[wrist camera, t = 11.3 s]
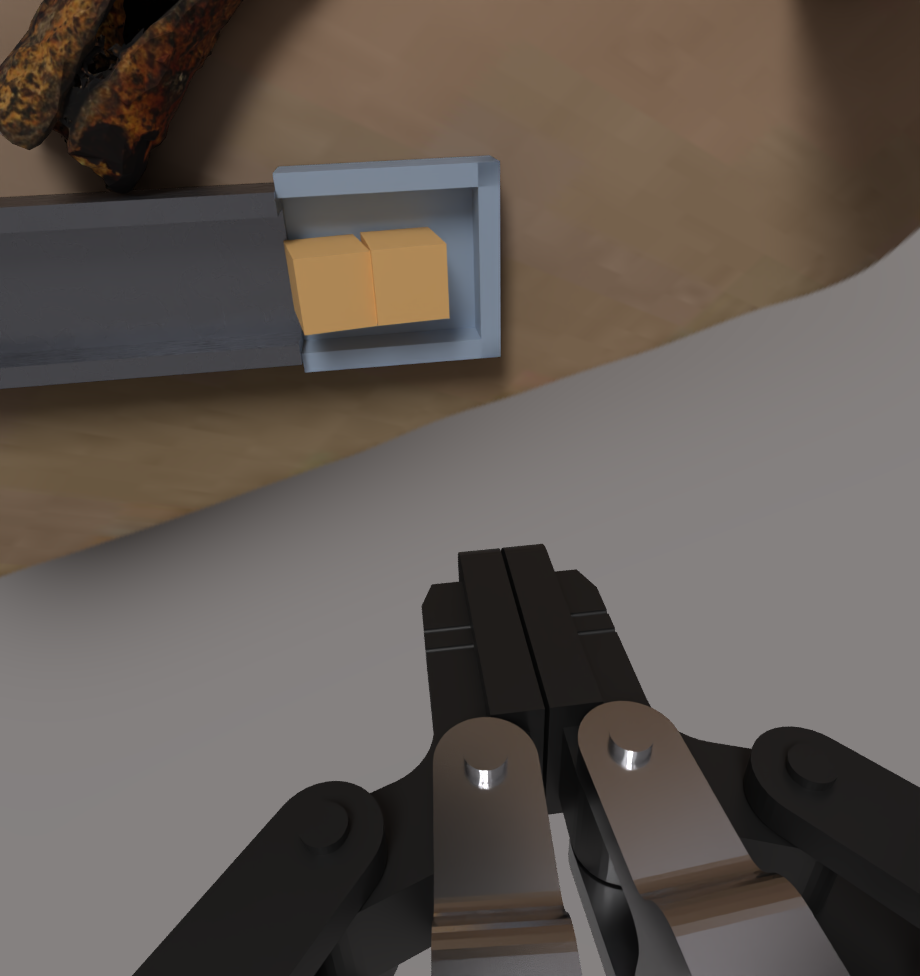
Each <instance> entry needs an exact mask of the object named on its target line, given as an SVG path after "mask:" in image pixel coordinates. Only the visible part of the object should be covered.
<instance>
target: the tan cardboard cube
mask: <svg viewBox="0 0 920 976" xmlns="http://www.w3.org/2000/svg"><path fill="white" fill-rule="evenodd" d="M283 242H284V248H285V255H286V261H287V267H288V273H289V279H290V285H291V292H292V298H293V304H294V310H295V313H296V315H297V318H298V320H299V323H300V325H301V327H302V330H303V332H304V335H312V334H320V333H328V332H335V331H343V330H350V329H358V328H365V327H373V326H377V316H376V306H375V296H374V286H373V275H372V265H371V255H370V251H369V250H368V249H367V248H366V247H365V246H364V245H363V244H362V243H361V242H360V241H359V240H358V239H357V238H356V237H355V236H354V235H353V234H346V235H336V236H326V237H316V238H305V239H295V240H285V241H283Z"/></svg>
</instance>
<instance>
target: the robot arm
mask: <svg viewBox="0 0 920 976" xmlns="http://www.w3.org/2000/svg"><path fill="white" fill-rule="evenodd" d="M458 570H459V582H452V583H442V584H433V585H431V588H430V590H429V592H428V594H427V596H426V598H425V600H424V602H423V604H422V615H423V625H424V626H423V627H424V637H425V650H426V661H427V672H428V682H429V692H430V702H431V711H432V722H433V731H434V736H433V741H432V744H431V747H430V749H429V751H428V753H427V755H426V757H425V758H424V759H423V761H422V762H421V763H420V765H418V766H417V767H416V768H415V769H414V770H413V771H412V772H411V773H409V774H408V775H406V776H405V777H404V778H402V779H400V780H398V781H396V782H394V783H392V784H389V785H387V786H385V787H383V788H381V789H378V790H376V791H374V792H372V793H368V792H367V791H366V790H365V789H363V788H362V787H360V786H357V785H355V784H352V783H348V782H342V781H329V782H324V783H319V784H316V785H313V786H311V787H308V788H306V789H304V790H302V791H300V792H299V793H297V794H296V795H295V796H293V797H292V798H291V799H289V801H287V802H286V803H285V804H284V805H283V806H282V808H281V809H280V810H279V811H278V812H277V813H276V814H275V816H274V817H273V818H272V819H271V820H270V821H269V822H268V823H267V824H266V826H265V827H264V828H263V829H262V830H261V831H260V832H259V833H258V835H257V836H256V837H255V838H254V839H253V840H252V841H251V842H250V844H249V845H248V846H247V847H246V848H245V849H244V850H243V851H242V853H241V854H240V855H239V856H238V857H237V858H236V859H235V860H234V862H233V863H232V864H231V865H230V866H229V867H228V868H227V869H226V871H225V872H224V873H223V874H222V875H221V876H220V877H219V879H218V880H217V881H216V882H215V883H214V884H213V885H212V886H211V887H210V889H209V890H208V891H207V892H206V893H205V894H204V895H203V896H202V898H201V899H200V900H199V901H198V902H197V903H196V904H195V905H194V907H193V908H192V909H191V910H190V911H189V912H188V913H187V915H186V916H185V917H184V918H183V919H182V920H181V921H180V922H179V924H178V925H177V926H176V927H175V928H174V929H173V930H172V931H171V932H170V934H169V935H168V936H167V937H166V938H165V939H164V941H162V943H161V944H160V945H159V946H158V947H157V948H156V949H155V950H154V952H153V953H152V954H151V955H150V956H149V957H148V958H147V959H146V961H145V962H144V963H143V964H142V965H141V966H140V967H139V968H138V970H137V971H136V972H135V973H134V974H133V975H132V976H394V974H395V972H396V970H397V967H398V965H399V964H400V963H402V962H404V961H406V960H408V959H410V958H411V957H413V956H415V955H417V954H419V953H421V952H422V951H424V950H426V949H428V948H429V947H431V976H582V972H581V965H580V960H579V954H578V949H577V943H576V938H575V933H574V929H573V924H572V921H571V918H570V915H569V914H568V912H566V911H565V909H564V906H563V902H562V897H561V891H560V885H559V879H558V873H557V868H556V860H555V855H554V848H553V842H552V836H551V830H550V823H549V817H548V814H556V813H563V814H564V818H565V821H566V825H567V829H568V833H569V837H570V840H569V853H568V855H569V856H568V857H569V865H570V868H571V872H572V875H573V878H574V881H575V884H576V887H577V890H578V893H579V896H580V899H581V902H582V905H583V908H584V911H585V913H586V917H587V920H588V923H589V926H590V928H591V932H592V935H593V938H594V941H595V944H596V947H597V950H598V953H599V956H600V959H601V962H602V965H603V968H604V971H605V974H606V976H920V787H918V786H916V785H914V784H912V783H911V782H909V781H907V780H905V779H903V778H901V777H900V776H898V775H896V774H894V773H893V772H891V771H889V770H887V769H885V768H883V767H882V766H880V765H878V764H876V763H875V762H873V761H871V760H869V759H867V758H866V757H864V756H862V755H860V754H858V753H857V752H854V751H853V750H851V749H849V748H848V747H846V746H844V745H842V744H840V743H838V742H837V741H835V740H833V739H831V738H829V737H827V736H825V735H823V734H821V733H818V732H815V731H813V730H809V729H804V728H799V727H779V728H774V729H771V730H769V731H766V732H765V733H763V734H762V735H760V736H759V738H758V739H757V740H756V741H755V743H754V745H753V747H752V749H749V748H743V747H737V746H730V745H724V744H718V743H712V742H706V741H702V740H698V739H695V738H692V737H689V736H687V735H685V734H683V733H681V732H679V731H678V730H677V729H676V727H675V726H674V725H673V723H672V722H671V721H670V720H669V719H668V718H666V717H665V716H664V715H663V714H661V713H660V712H658V711H656V710H655V709H653V708H651V706H650V704H649V703H648V701H647V699H646V697H645V694H644V692H643V690H642V688H641V685H640V683H639V681H638V679H637V677H636V674H635V672H634V670H633V668H632V665H631V663H630V661H629V659H628V656H627V654H626V652H625V650H624V648H623V645H622V643H621V641H620V638H619V636H618V634H617V632H615V627H614V625H613V623H612V621H611V618H610V616H609V614H607V611H606V607H605V605H604V603H603V600H602V598H601V596H600V594H599V591H598V589H597V587H596V586H594V585H593V584H592V583H591V582H590V581H589V580H588V579H587V578H586V577H584V576H583V575H582V574H581V573H580V572H579V571H577V570H566V571H557V572H555V571H554V569H553V566H552V564H551V561H550V558H549V555H548V553H547V550H546V548H545V546H544V545H543V544H536V545H526V546H517V547H506V548H502V549H501V551H500V549H499V548H498V549H488V550H478V551H468V552H459V553H458Z"/></svg>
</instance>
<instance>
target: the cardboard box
mask: <svg viewBox="0 0 920 976" xmlns="http://www.w3.org/2000/svg"><path fill="white" fill-rule="evenodd" d="M360 236H361V243H362V244H363V245H364V246H365V247H366V248H367V249H368V250H369V251H370V255H371V265H372V275H373V286H374V296H375V306H376V316H377V324H378V326H382V325H391V324H401V323H410V322H419V321H429V320H438V319H447V318H450V316H449V292H448V268H447V244H446V243H445V242H444V241H443V240H442V239H441V238H440V237H439V236H438V235H436V234H435V233H434V232H433V231H432V230H431V229H430V228H429V227H418V228H405V229H393V230H381V231H368V232H360Z"/></svg>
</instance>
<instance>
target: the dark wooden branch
mask: <svg viewBox="0 0 920 976" xmlns="http://www.w3.org/2000/svg"><path fill="white" fill-rule="evenodd" d="M242 1H243V0H44V1H43V2H42V3H41V5H40V6H39V8H38V10H37V12H36V14H35V15H34V17H33V19H32V21H31V24H30V27H29V30H28V31H27V33H26V34H25V35H24V36H23V38H22V39H21V40H20V42H19V43H18V44H17V45H16V47H15V48H14V49H13V51H12V52H11V53H10V54H9V56H8V57H7V58H6V59H5V61H4V62H3V63H2V64H1V65H0V134H1V135H2V136H4V137H5V138H6V139H7V140H9V141H10V142H11V143H12V144H15V145H17V146H20V147H23V148H25V149H28V150H31V149H33V148H35V147H36V146H38V145H40V144H41V143H42V142H43V141H44V140H45V138H46V137H47V136H48V135H49V133H50V132H51V130H52V129H54V130H55V131H57V132H59V133H60V134H62V135H63V136H64V137H65V138H66V139H67V140H68V142H66V140H65V142H66V143H67V148H68V153H69V154H70V155H71V156H72V157H73V158H75V159H76V160H77V161H78V162H79V163H81V164H82V165H84V166H88V167H90V168H91V169H92V170H93V171H94V172H95V173H96V174H98V175H99V176H101V177H102V178H104V181H105V184H106V188H107V189H109V190H112V191H114V192H116V193H119V194H127V193H128V192H130V191H133V187H134V186H135V184H136V183H137V181H138V180H139V178H140V177H141V175H142V174H143V172H144V171H145V168H146V165H147V162H148V158H149V155H150V151H151V149H152V148H154V147H156V146H158V145H159V144H160V143H161V142H162V141H163V140H164V139H165V138H166V134H167V130H168V126H169V122H170V121H171V119H172V117H173V115H174V114H175V112H176V110H177V108H178V106H179V104H180V102H181V100H182V98H183V95H184V93H185V91H186V89H187V87H188V84H189V82H190V80H191V78H192V77H193V75H194V73H195V71H197V70H198V69H199V68H201V67H202V66H203V64H204V61H205V59H206V57H207V56H209V55H210V54H211V49H212V48H213V46H214V44H215V43H216V41H217V39H218V36H219V33H220V30H221V29H222V28H223V27H224V25H225V24H226V23H227V22H228V20H229V19H230V17H231V16H232V14H233V13H234V11H235V10H236V9H237V7H238V6H239V4H240V3H241V2H242ZM61 137H62V136H61Z"/></svg>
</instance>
